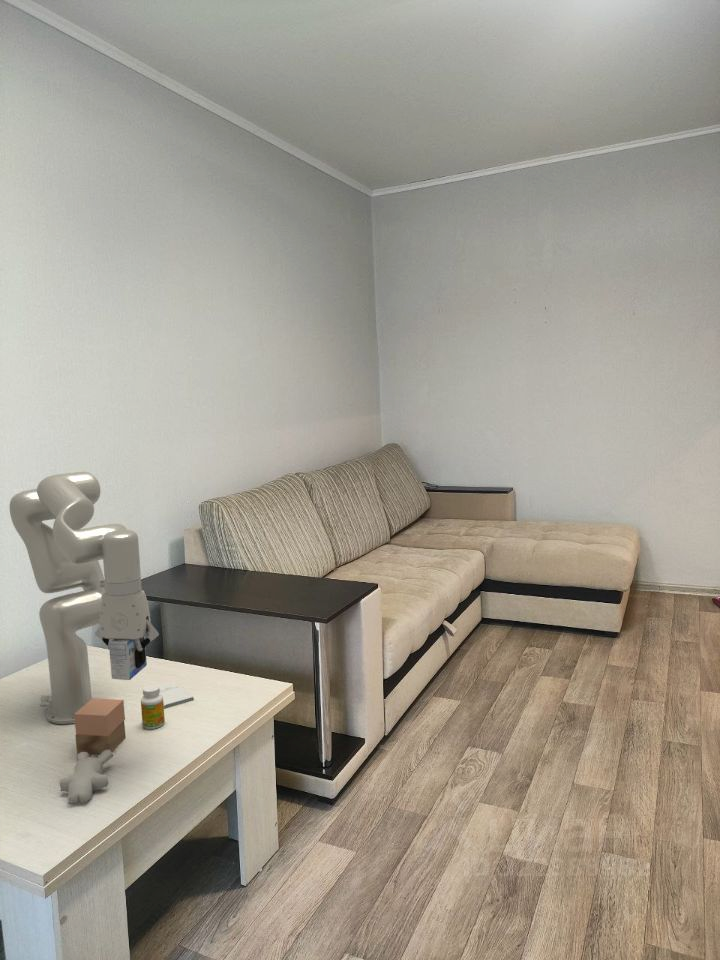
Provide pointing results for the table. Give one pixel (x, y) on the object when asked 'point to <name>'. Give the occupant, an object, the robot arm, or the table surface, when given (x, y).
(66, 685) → the robot arm
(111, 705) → the tower top block
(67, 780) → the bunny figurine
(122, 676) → the medicine box
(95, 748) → the tower bottom block
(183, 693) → the external hard drive
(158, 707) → the supplement bottle
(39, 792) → the table surface
